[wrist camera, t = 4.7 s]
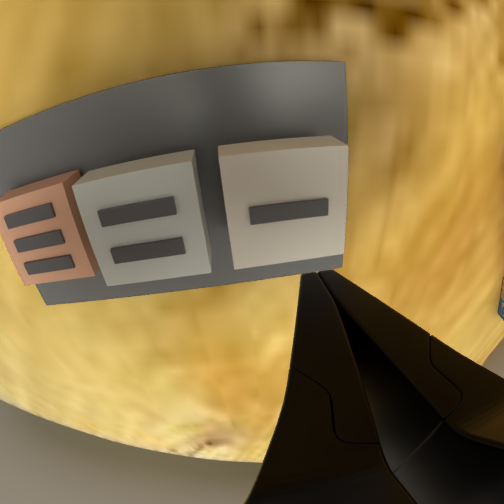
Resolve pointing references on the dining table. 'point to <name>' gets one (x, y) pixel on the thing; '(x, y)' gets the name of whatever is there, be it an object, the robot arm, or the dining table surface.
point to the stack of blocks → (501, 303)
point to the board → (179, 148)
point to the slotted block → (46, 231)
